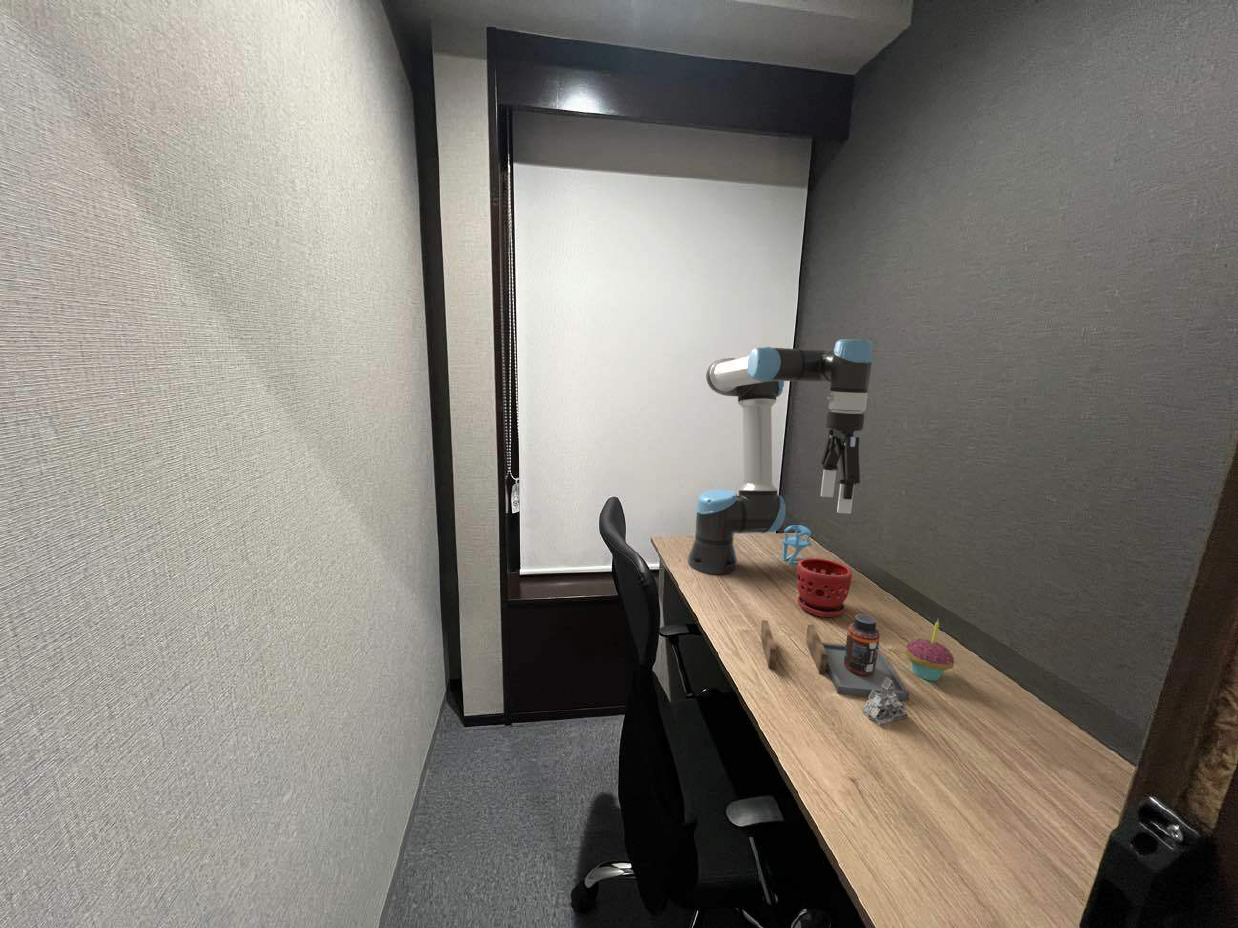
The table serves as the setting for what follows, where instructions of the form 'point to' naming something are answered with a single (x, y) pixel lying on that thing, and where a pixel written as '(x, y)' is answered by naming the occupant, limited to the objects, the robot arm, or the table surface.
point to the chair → (795, 542)
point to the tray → (860, 683)
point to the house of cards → (884, 705)
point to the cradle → (811, 641)
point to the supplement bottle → (862, 645)
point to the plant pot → (823, 586)
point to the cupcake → (929, 657)
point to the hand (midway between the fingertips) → (834, 504)
